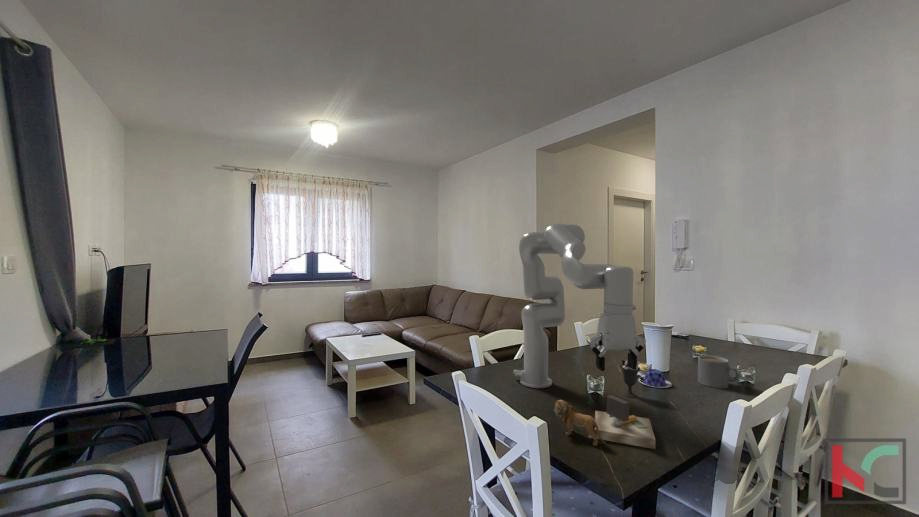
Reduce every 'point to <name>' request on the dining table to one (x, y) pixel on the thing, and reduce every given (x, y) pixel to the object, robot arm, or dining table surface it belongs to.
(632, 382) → the sundae
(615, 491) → the dining table surface
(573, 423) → the lion figurine
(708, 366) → the coffee mug
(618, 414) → the latch
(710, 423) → the dining table surface
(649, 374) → the plate of grapes
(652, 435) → the dial board
